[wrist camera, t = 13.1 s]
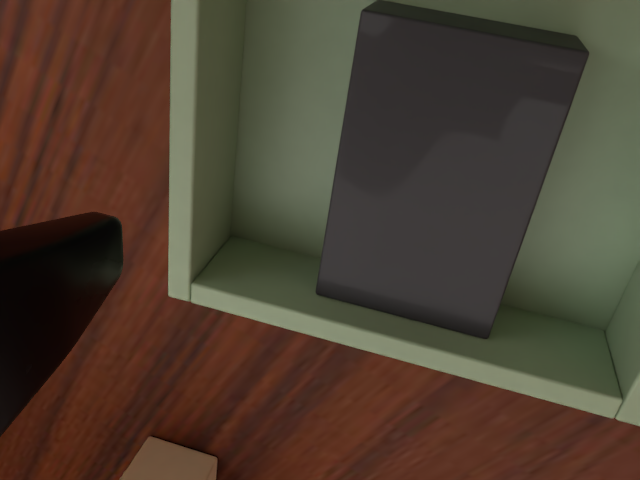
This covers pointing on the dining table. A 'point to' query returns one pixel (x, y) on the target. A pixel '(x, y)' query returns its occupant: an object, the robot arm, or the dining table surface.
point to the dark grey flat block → (442, 161)
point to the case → (317, 181)
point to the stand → (170, 463)
